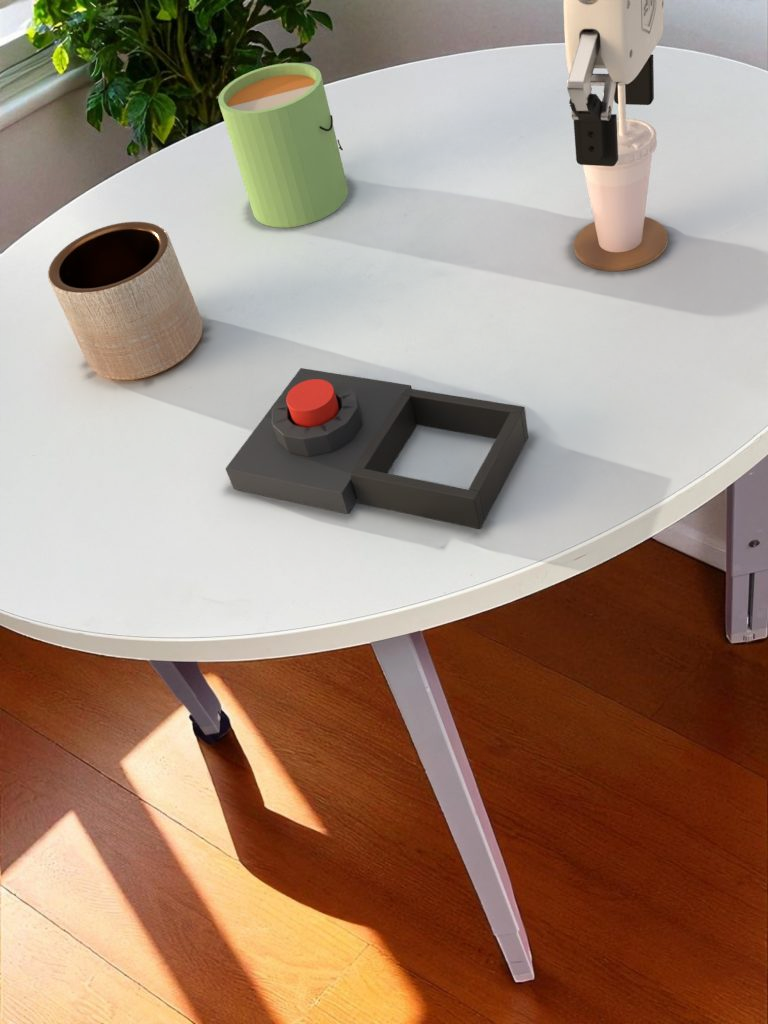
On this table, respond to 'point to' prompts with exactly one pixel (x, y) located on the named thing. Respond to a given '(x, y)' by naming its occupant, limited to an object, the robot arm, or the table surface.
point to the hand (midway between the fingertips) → (616, 132)
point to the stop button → (312, 403)
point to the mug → (285, 144)
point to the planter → (126, 300)
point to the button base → (314, 444)
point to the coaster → (618, 261)
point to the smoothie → (622, 184)
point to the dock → (434, 497)
